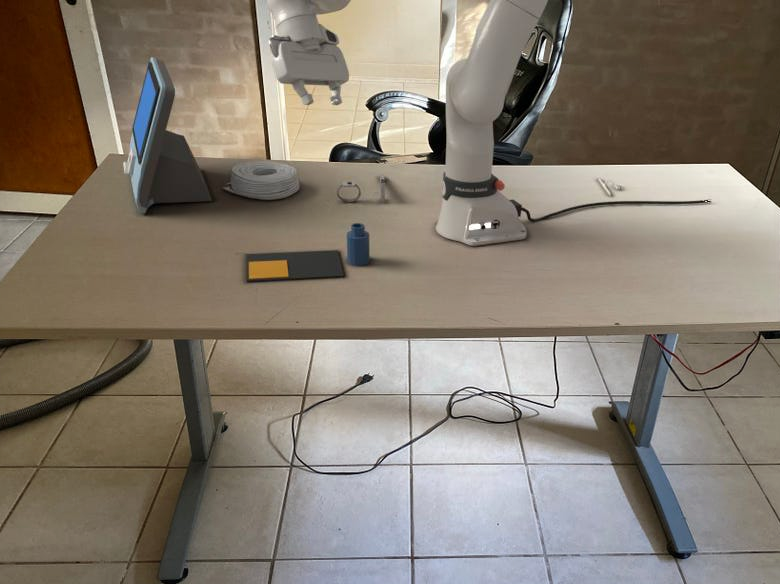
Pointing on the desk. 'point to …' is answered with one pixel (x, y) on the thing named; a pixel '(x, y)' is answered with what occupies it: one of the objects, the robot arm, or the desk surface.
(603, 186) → the picture light
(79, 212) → the desk surface
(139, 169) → the touchscreen device
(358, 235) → the vase
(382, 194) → the caliper
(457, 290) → the desk surface
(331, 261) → the desk mat
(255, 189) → the cable
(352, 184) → the wristwatch
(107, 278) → the desk surface
